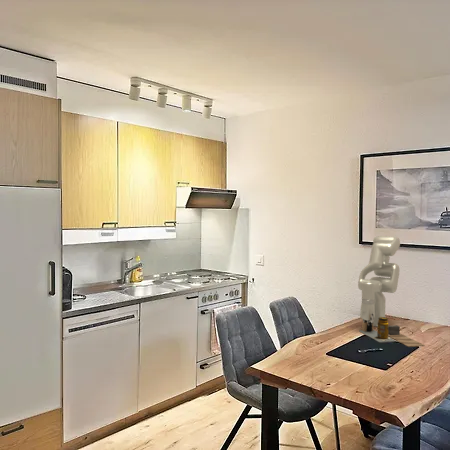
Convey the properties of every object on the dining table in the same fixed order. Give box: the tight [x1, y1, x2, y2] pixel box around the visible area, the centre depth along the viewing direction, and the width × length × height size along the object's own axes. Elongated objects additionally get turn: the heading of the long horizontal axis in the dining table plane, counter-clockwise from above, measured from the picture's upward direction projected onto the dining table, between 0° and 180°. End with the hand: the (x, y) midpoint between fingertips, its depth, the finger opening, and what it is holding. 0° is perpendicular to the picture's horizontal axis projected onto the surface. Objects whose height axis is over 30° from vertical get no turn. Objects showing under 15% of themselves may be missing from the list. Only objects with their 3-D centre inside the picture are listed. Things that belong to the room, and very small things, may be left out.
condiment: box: [373, 316, 390, 341], centre depth 261 cm, size 7×8×12 cm
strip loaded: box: [359, 321, 396, 344], centre depth 267 cm, size 24×10×6 cm, turn 11°
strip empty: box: [388, 325, 425, 348], centre depth 259 cm, size 24×10×6 cm, turn 11°
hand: (367, 330), depth 277 cm, fingers closed on strip loaded, 3 cm apart
